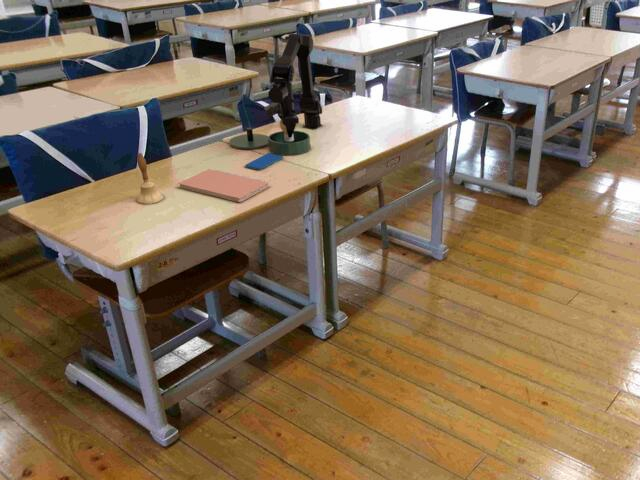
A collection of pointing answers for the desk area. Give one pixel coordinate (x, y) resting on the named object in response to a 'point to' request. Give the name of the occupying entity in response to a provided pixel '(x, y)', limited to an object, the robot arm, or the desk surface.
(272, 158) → the smartphone
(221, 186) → the notebook
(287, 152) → the tin
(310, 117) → the robot arm
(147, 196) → the hand bell
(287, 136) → the light bulb
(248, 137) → the tin lid
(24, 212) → the desk surface
